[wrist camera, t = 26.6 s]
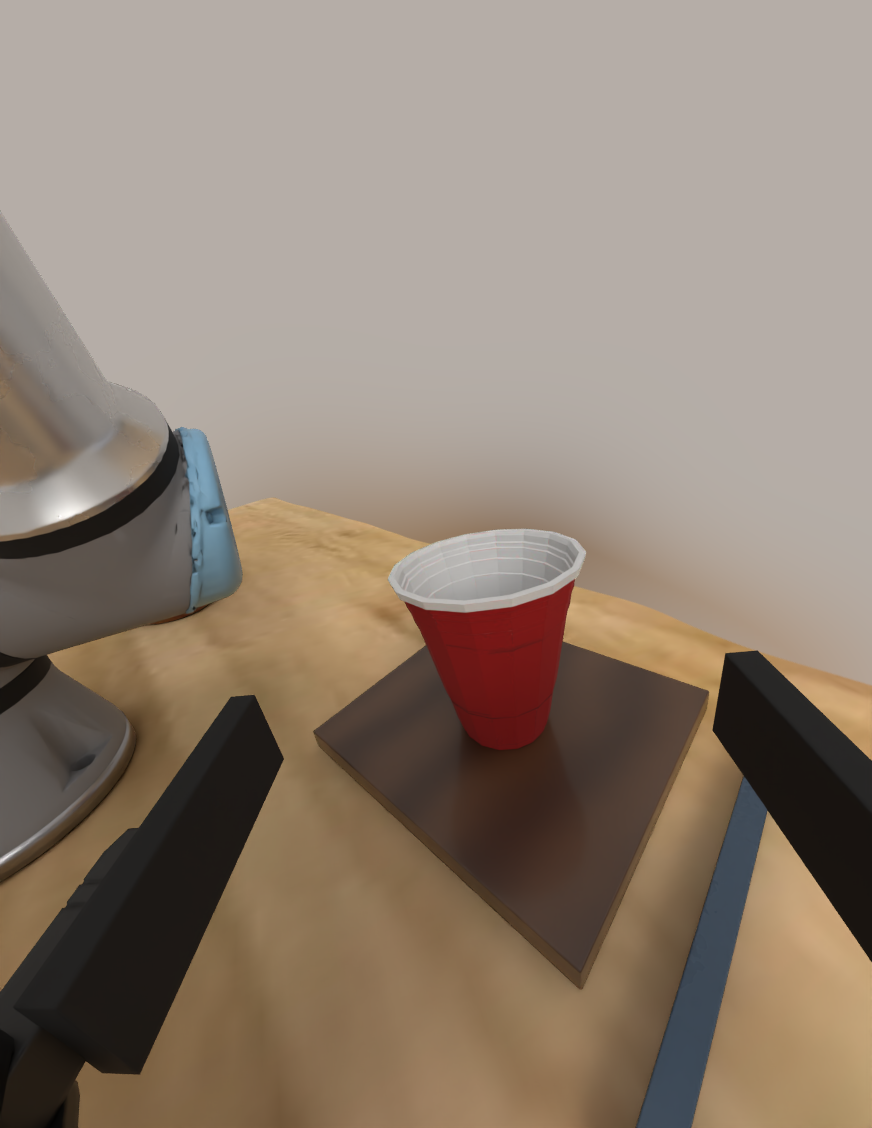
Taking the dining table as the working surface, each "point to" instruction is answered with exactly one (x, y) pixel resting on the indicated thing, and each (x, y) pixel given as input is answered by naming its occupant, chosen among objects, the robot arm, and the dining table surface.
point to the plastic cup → (494, 624)
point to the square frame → (705, 974)
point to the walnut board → (529, 789)
